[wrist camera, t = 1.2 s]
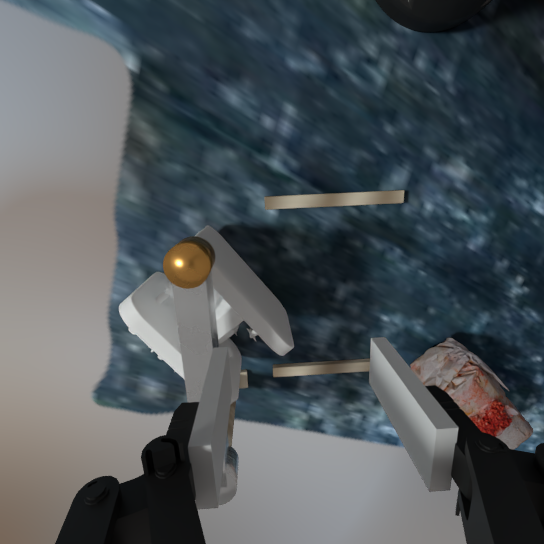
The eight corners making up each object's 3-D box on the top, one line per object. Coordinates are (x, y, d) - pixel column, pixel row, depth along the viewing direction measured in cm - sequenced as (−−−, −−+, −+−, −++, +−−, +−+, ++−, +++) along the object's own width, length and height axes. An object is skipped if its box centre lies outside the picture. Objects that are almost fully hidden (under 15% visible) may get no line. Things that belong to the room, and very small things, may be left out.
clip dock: (401, 190, 38) (470, 195, 26) (389, 375, 45) (439, 450, 32) (190, 200, 37) (157, 210, 25) (211, 387, 44) (193, 468, 32)
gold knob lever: (218, 235, 25) (213, 242, 22) (239, 473, 32) (238, 505, 29) (166, 237, 25) (154, 245, 22) (198, 476, 32) (192, 508, 29)
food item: (397, 364, 44) (435, 414, 35) (443, 325, 43) (495, 366, 34) (455, 420, 48) (504, 480, 38) (500, 385, 46) (562, 439, 37)
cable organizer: (291, 311, 42) (304, 359, 30) (229, 359, 43) (220, 422, 32) (211, 221, 38) (192, 238, 27) (147, 277, 40) (104, 315, 28)
